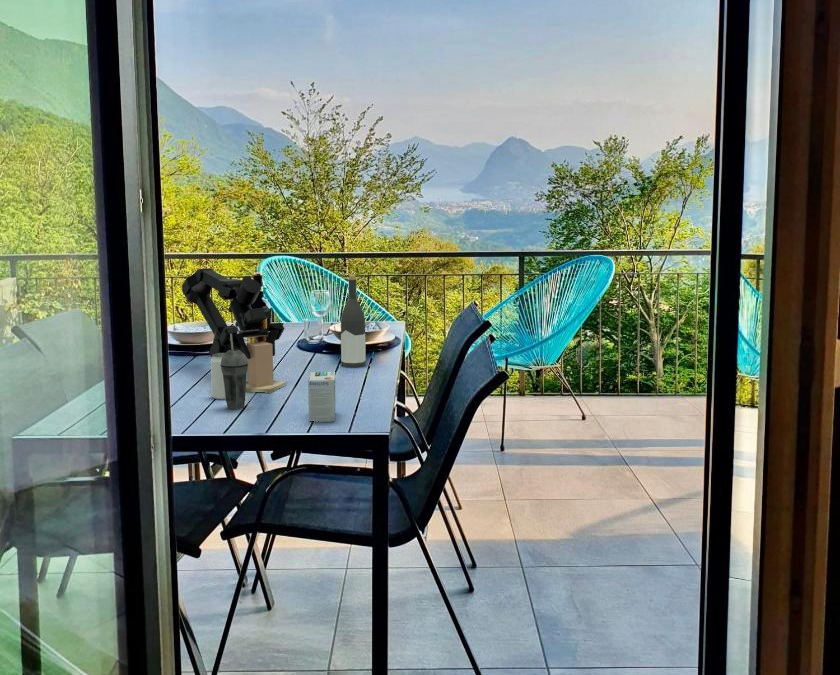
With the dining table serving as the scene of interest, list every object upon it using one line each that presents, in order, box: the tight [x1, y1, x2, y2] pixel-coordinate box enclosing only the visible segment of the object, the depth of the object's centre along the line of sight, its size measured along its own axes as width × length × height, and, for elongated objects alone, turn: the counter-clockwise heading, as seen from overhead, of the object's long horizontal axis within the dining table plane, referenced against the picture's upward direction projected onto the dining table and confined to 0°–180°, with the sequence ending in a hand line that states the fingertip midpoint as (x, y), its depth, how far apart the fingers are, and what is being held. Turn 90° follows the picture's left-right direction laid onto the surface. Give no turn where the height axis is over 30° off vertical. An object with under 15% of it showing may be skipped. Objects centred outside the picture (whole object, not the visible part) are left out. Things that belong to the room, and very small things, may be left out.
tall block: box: [246, 341, 275, 387], centre depth 254 cm, size 6×6×12 cm
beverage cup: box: [220, 334, 248, 410], centre depth 231 cm, size 7×7×20 cm
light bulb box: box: [307, 371, 336, 423], centre depth 222 cm, size 11×7×11 cm, turn 5°
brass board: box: [246, 380, 287, 394], centre depth 255 cm, size 11×11×1 cm
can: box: [210, 353, 226, 400], centre depth 243 cm, size 6×6×12 cm
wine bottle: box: [340, 274, 367, 369], centre depth 287 cm, size 8×8×30 cm
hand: (262, 356), depth 253 cm, fingers open, 7 cm apart
